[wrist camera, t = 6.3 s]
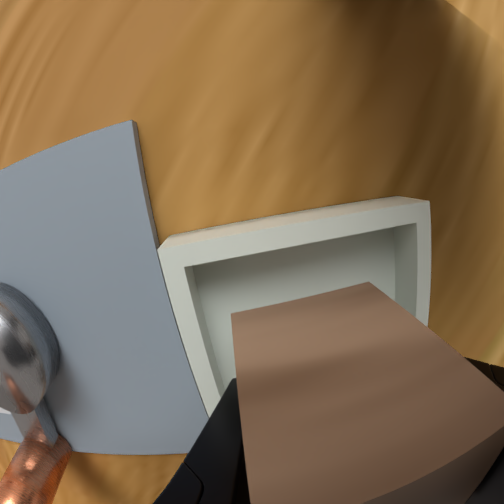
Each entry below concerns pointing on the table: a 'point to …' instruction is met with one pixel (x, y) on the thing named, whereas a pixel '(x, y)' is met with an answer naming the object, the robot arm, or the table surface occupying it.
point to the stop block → (359, 404)
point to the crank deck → (99, 296)
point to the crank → (29, 400)
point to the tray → (290, 271)
